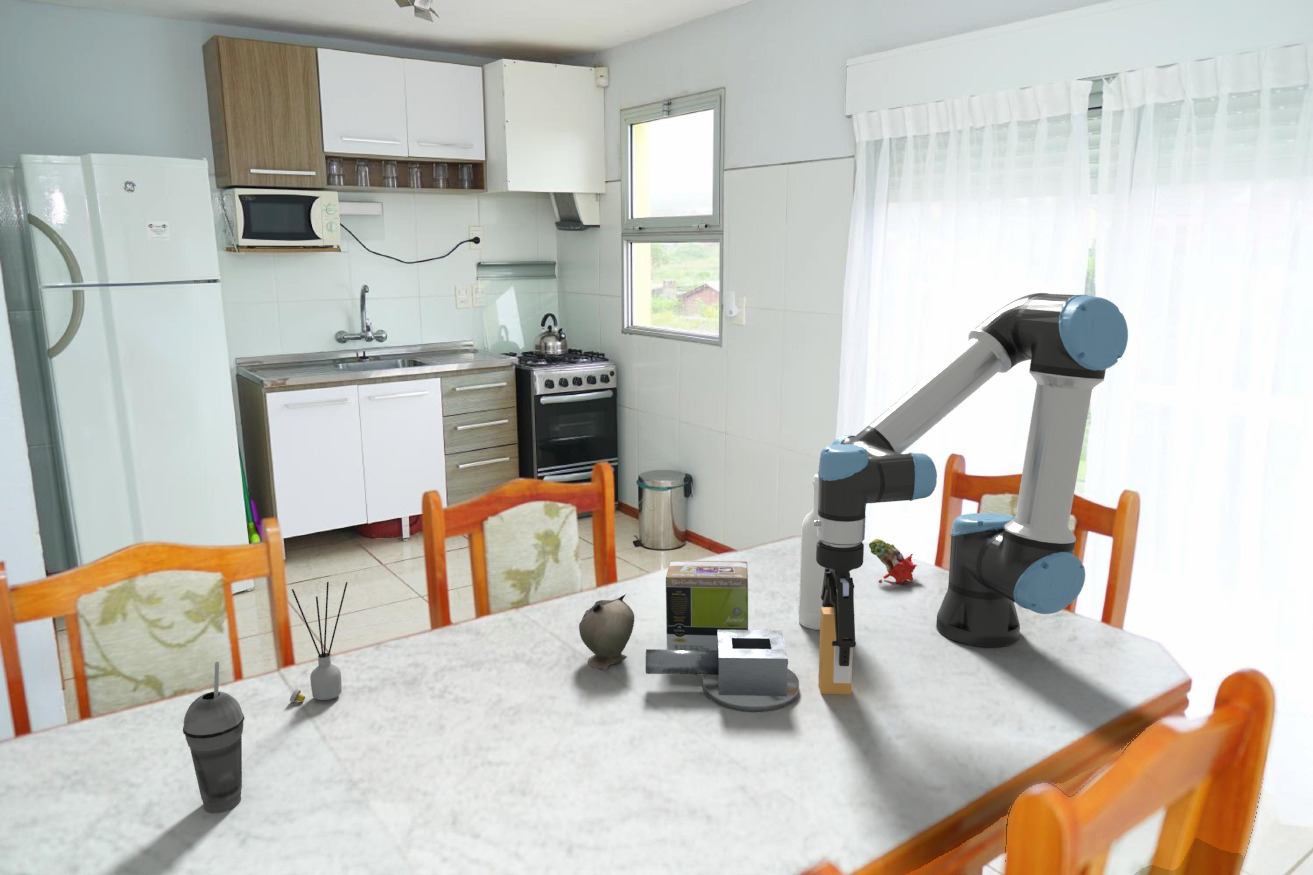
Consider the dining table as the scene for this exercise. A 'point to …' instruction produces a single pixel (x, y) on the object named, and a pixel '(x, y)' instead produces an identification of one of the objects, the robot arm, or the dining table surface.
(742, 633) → the bracket head
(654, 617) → the dining table surface
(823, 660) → the tan wooden beam
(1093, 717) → the dining table surface
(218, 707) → the beverage cup
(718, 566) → the tea box
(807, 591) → the bottle
